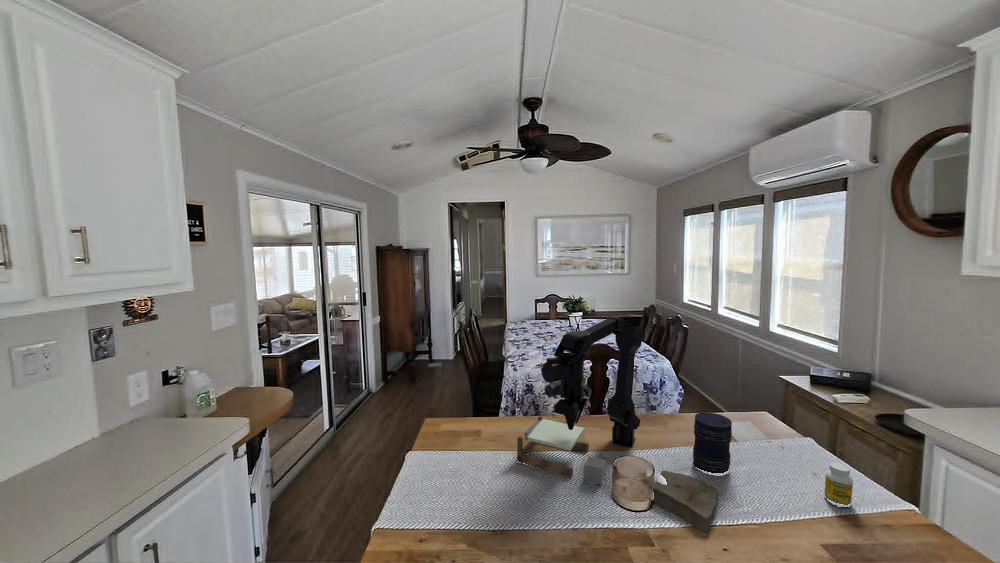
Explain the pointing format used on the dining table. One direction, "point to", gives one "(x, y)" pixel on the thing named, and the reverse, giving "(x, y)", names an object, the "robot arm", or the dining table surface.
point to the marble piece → (687, 499)
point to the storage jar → (712, 442)
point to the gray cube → (595, 470)
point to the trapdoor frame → (543, 463)
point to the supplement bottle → (838, 484)
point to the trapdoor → (554, 434)
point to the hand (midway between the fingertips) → (573, 426)
